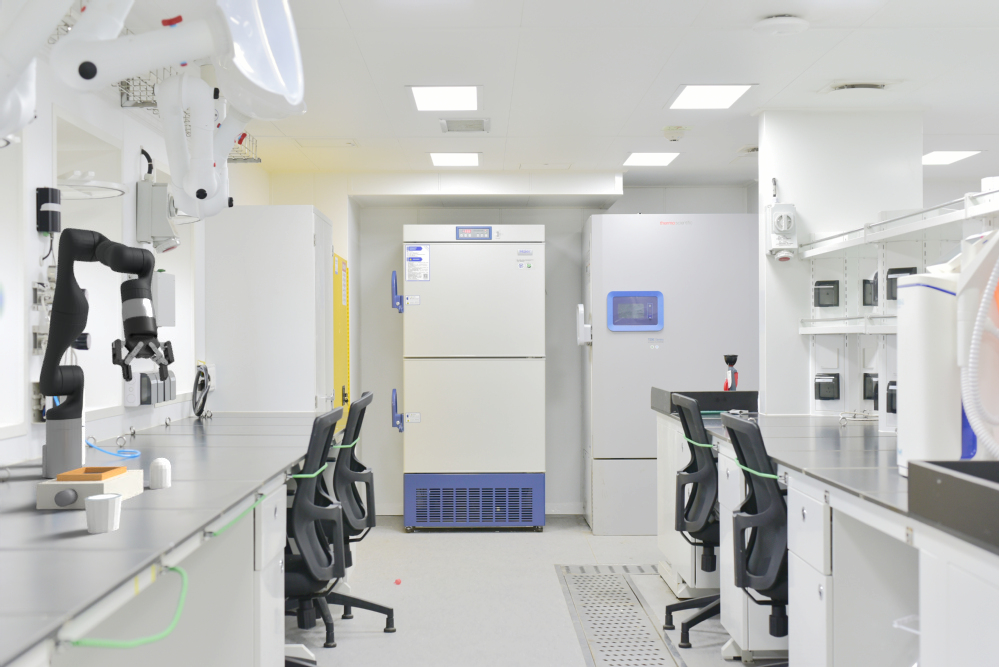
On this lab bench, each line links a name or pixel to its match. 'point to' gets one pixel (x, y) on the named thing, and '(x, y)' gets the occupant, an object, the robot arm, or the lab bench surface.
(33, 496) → the lab bench surface
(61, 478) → the plate
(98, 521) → the white tapered cup
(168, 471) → the capsule
